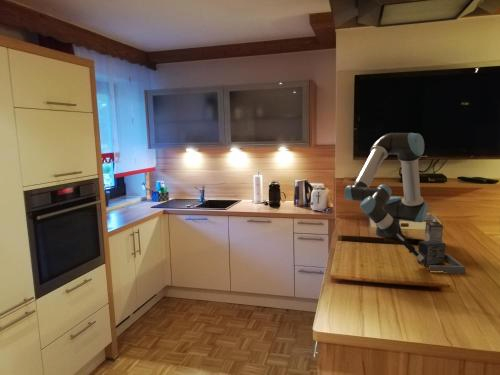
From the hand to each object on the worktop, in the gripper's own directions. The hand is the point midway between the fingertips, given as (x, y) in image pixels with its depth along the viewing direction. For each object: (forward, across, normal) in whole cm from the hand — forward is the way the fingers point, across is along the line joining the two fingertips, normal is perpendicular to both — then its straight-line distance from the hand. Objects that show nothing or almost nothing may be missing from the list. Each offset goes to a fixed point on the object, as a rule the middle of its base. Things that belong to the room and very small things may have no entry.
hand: (421, 259), depth 178 cm
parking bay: (+8, 0, +4) cm, 9 cm away
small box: (+6, -3, +2) cm, 7 cm away
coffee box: (+11, -18, +6) cm, 22 cm away
